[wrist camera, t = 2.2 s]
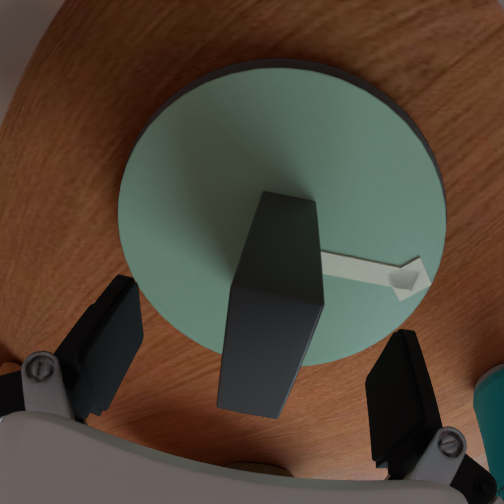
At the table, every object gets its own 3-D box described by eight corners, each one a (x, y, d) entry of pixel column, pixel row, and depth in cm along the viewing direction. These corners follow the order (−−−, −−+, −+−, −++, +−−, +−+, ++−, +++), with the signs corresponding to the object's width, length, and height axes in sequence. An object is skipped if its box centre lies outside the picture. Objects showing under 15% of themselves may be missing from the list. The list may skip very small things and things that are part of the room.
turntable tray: (128, 57, 12) (1, 63, 5) (481, 127, 11) (594, 183, 4) (135, 326, 21) (86, 415, 14) (373, 372, 20) (383, 472, 13)
